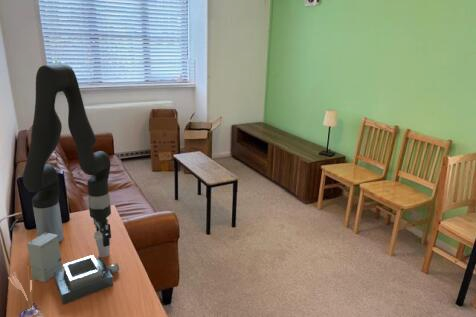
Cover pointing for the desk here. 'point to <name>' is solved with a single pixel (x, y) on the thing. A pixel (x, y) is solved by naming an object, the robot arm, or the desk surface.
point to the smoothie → (101, 245)
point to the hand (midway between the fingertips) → (103, 240)
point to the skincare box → (45, 256)
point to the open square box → (83, 278)
